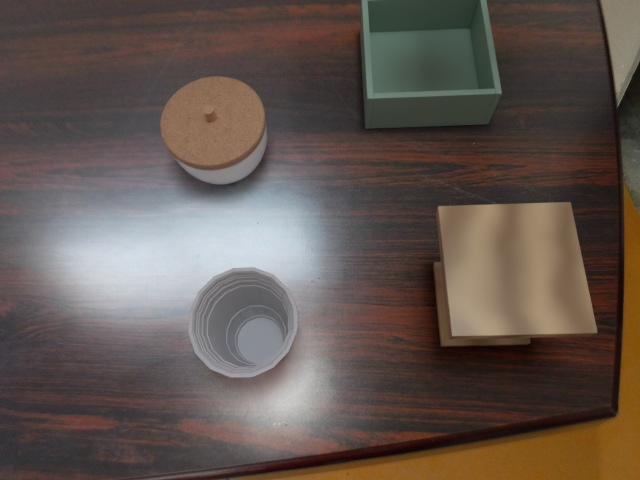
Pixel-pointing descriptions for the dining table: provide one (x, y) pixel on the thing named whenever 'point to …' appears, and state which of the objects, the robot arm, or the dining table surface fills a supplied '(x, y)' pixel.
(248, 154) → the lidded bowl
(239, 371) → the plastic cup
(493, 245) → the stand
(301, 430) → the dining table surface
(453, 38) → the tub
